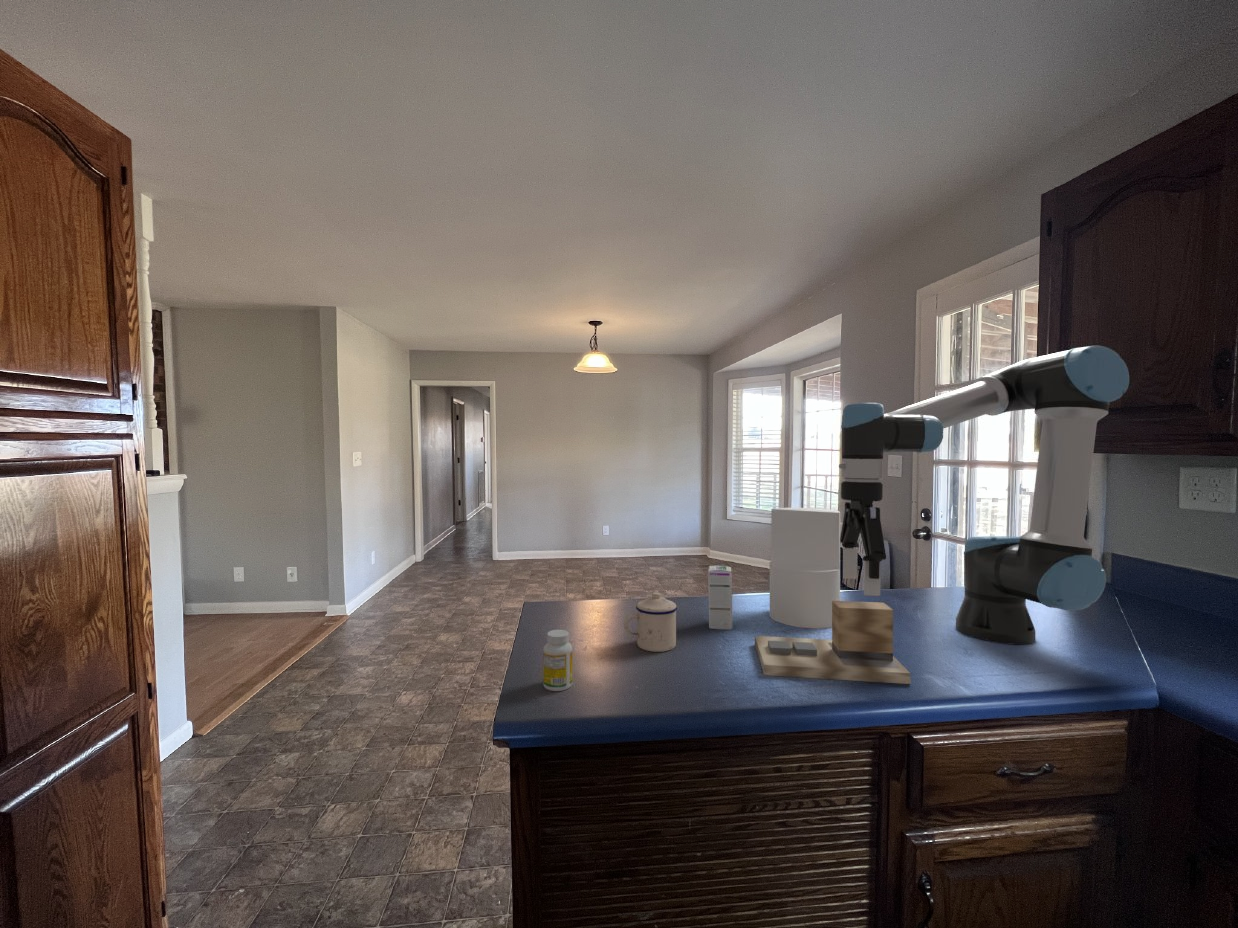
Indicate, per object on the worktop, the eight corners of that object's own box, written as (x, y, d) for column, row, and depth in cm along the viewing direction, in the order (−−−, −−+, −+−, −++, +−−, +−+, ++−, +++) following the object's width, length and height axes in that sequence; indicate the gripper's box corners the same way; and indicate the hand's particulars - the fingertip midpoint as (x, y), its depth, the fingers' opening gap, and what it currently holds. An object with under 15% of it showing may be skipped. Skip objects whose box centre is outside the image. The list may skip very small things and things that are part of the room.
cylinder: (781, 604, 143) (781, 506, 143) (846, 615, 133) (846, 509, 133) (760, 619, 129) (760, 511, 129) (830, 633, 119) (831, 515, 119)
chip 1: (787, 647, 105) (787, 641, 105) (791, 654, 101) (791, 648, 101) (767, 646, 106) (767, 640, 106) (770, 653, 102) (770, 647, 102)
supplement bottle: (557, 694, 88) (556, 640, 88) (537, 685, 92) (536, 633, 92) (578, 684, 92) (578, 632, 92) (558, 676, 96) (558, 626, 96)
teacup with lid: (668, 636, 117) (668, 586, 117) (683, 650, 109) (683, 596, 109) (618, 641, 114) (618, 590, 114) (630, 656, 105) (630, 601, 105)
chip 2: (812, 648, 104) (812, 642, 104) (817, 655, 100) (817, 649, 100) (792, 647, 105) (792, 641, 105) (796, 654, 101) (796, 648, 101)
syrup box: (732, 630, 121) (732, 570, 121) (707, 628, 123) (707, 569, 122) (732, 622, 127) (732, 565, 127) (708, 621, 128) (708, 564, 128)
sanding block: (883, 651, 103) (883, 602, 102) (893, 660, 98) (893, 609, 98) (832, 648, 104) (832, 600, 104) (838, 657, 99) (838, 607, 99)
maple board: (879, 651, 108) (879, 641, 108) (910, 683, 92) (910, 672, 92) (754, 644, 112) (754, 635, 112) (764, 674, 96) (764, 664, 96)
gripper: (826, 478, 114) (824, 571, 114) (862, 482, 89) (860, 602, 89) (861, 478, 112) (859, 573, 112) (907, 483, 88) (905, 604, 88)
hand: (860, 586), depth 101 cm, fingers open, 13 cm apart
